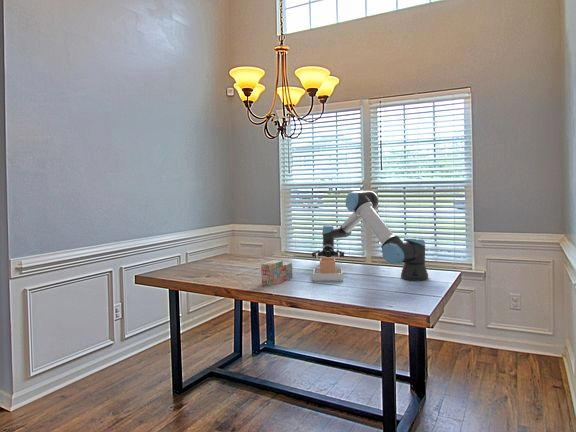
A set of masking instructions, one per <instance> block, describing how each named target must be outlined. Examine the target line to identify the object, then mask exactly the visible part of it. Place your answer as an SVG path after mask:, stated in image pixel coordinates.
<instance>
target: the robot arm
mask: <svg viewBox="0 0 576 432" xmlns="http://www.w3.org/2000/svg"><path fill="white" fill-rule="evenodd" d="M378 204H379V197H378V195H377V194H376V192H374V191H371V190H359V191H358V190H357V191H350V192H349V193H347V195H346V197H345V206H346V209H347V210H348V212H349V211H350V212H352V213H351V214H350V216H349V217H348V218H347V219H346V220H345V221H344V222H343V223H342V224H341V225H340V226H337V227H335V226H333V225H330V224H329V225H328V224H326V225H323V226H322V250H321V251H320V249H318V250H316V251H314V252H311V257H312V258H315V259H316V260H318V257H324V258H332V257H337V259H338V260H340V258H342V257H345V252H344V251H341V250H339V249H337V250H335V239H341V238H349V237H351V235H352V231H353V229H354V228H356V226H358V225H359V223H361V221H362V220H363V221H364V223H365V224H366V225H367V226H368V228H369V229H370V231H371V232H372V233H373V234H374V236H375V237H376V238H377V240H378V242H379V243H381V255H382V258H383V259H384V260H385V262H387V263H388V264H390V265H399V264H402V263H403V266H402V270H401V272H400V278H401V279H403V280H406V281H418V282H419V281H426V280H428V279H429V272H428V270H427V266H426V241H425V240H424V239H422V238H417V237H416V238H415V237H404V238H403V240H402V239H401V238H400V237H399V235H395V234H394V233H393V232H392V231H391V229H389V227H388V225H387V224H386V223H385V222H384V221H383V220H382V218H381V217H380V216H379V214H378V213H377V212H376V209H377V208H378V206H379V205H378Z"/></svg>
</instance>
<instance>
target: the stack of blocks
mask: <svg viewBox="0 0 576 432" xmlns="http://www.w3.org/2000/svg"><path fill="white" fill-rule="evenodd" d="M260 265H261V267H260V268H261V285H262V286H268V287H271V286H275V285H277V284H281V283H282V282H285V281H287V280H288V281H289V280H290V279H293V276H294V275H293V263H292V262H287V261H283V260H280V259H279V260H278V259H273V260H270V261H267V262H264V263H261V264H260Z"/></svg>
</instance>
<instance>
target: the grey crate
mask: <svg viewBox="0 0 576 432" xmlns="http://www.w3.org/2000/svg"><path fill="white" fill-rule="evenodd" d="M335 270H336V273H320V266H317V267H316V266H314V267H313V271H312V282H316V283H317V282H344V281H343V277H344V276H343V267H342V266H335Z"/></svg>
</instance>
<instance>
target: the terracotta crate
mask: <svg viewBox="0 0 576 432" xmlns="http://www.w3.org/2000/svg"><path fill="white" fill-rule="evenodd" d="M319 267H320V273H336V270H335V267H336V257H320V258H319Z"/></svg>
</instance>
